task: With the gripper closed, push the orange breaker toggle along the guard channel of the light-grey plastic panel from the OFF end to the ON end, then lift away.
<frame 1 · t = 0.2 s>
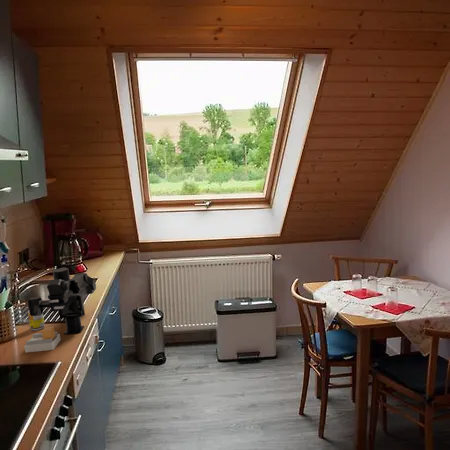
hand: (48, 313, 151), 16 cm above the counter, tool horizontal, fingers open, 9 cm apart
supplement bottle: (37, 328, 184), on the counter
toggle: (48, 333, 164), point 5 cm above the counter, slide at 0.0 cm
breaker panel: (43, 346, 165), on the counter
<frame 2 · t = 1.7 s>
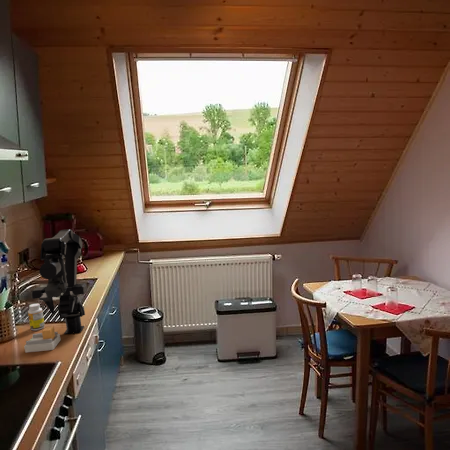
hand: (62, 313, 163), 12 cm above the counter, tool pointing down, fingers open, 6 cm apart
nothing on the counter moved.
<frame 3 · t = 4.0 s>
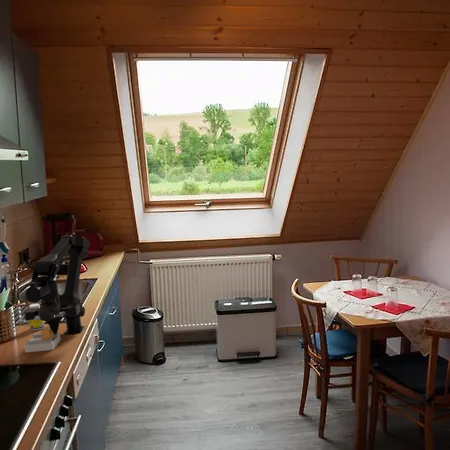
hand: (55, 334, 164), 4 cm above the counter, tool pointing down, fingers closed
toggle: (47, 333, 164), point 5 cm above the counter, slide at 0.5 cm, touching gripper
everything else where it was.
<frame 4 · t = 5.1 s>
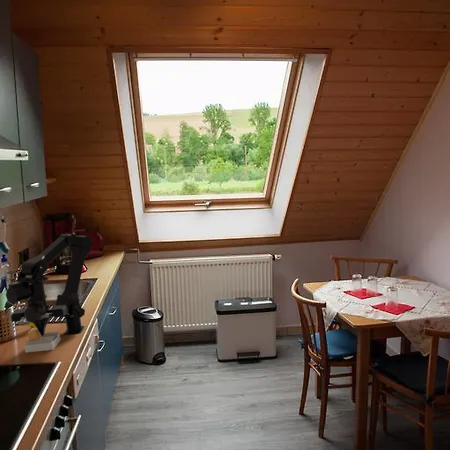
hand: (42, 335, 164), 4 cm above the counter, tool pointing down, fingers closed
toggle: (34, 335, 164), point 5 cm above the counter, slide at 5.1 cm, touching gripper
everything else where it was.
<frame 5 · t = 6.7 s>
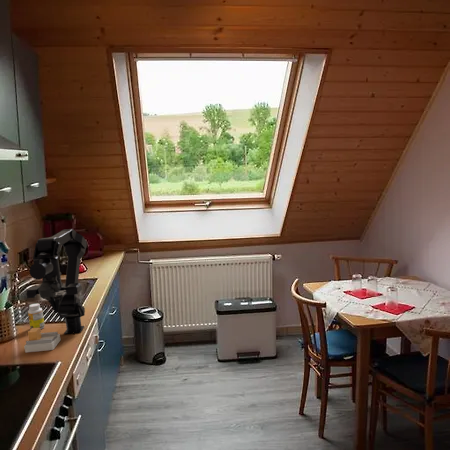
hand: (57, 312, 163), 12 cm above the counter, tool pointing down, fingers closed
toggle: (34, 335, 164), point 5 cm above the counter, slide at 5.1 cm
everything else where it was.
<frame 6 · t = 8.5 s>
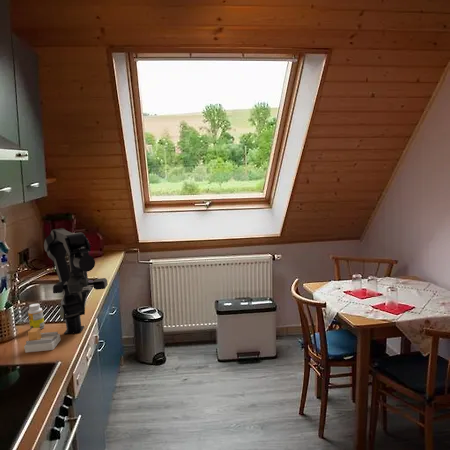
hand: (83, 307, 165), 13 cm above the counter, tool pointing down, fingers closed
nothing on the counter moved.
at the end: toggle slide at 5.1 cm; toggle touching nothing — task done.
